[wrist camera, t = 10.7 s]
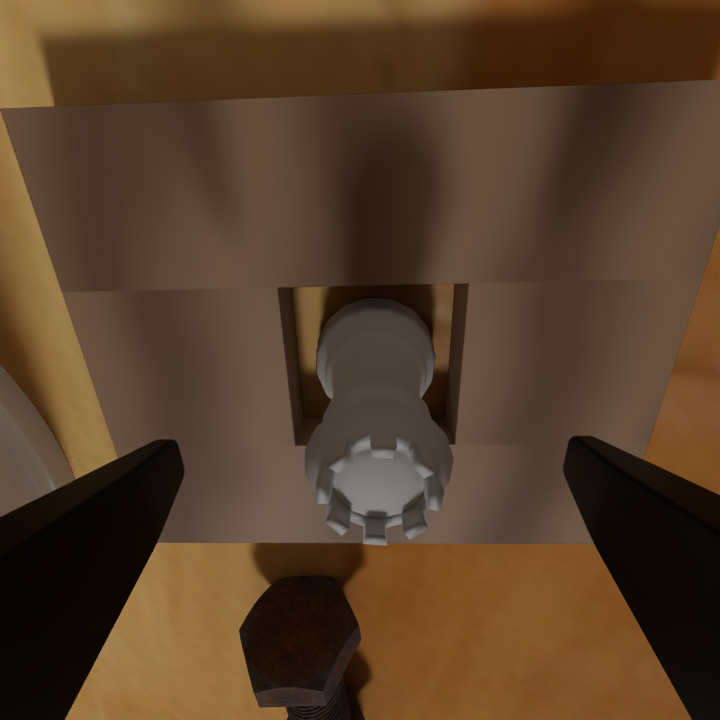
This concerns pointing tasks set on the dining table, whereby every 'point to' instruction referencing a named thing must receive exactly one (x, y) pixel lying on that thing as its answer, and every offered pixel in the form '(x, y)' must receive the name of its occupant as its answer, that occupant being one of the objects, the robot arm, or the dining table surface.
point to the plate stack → (26, 450)
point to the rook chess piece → (377, 422)
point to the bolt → (302, 649)
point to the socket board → (380, 279)
